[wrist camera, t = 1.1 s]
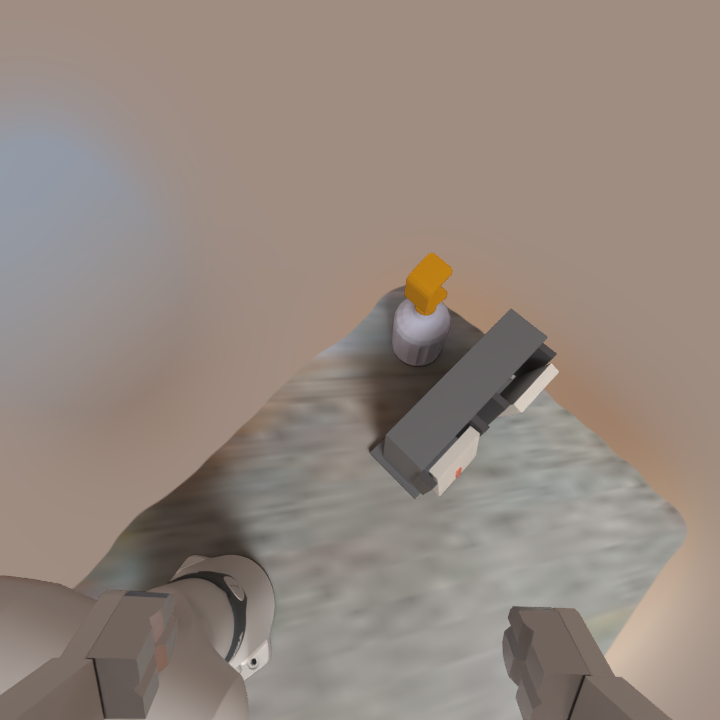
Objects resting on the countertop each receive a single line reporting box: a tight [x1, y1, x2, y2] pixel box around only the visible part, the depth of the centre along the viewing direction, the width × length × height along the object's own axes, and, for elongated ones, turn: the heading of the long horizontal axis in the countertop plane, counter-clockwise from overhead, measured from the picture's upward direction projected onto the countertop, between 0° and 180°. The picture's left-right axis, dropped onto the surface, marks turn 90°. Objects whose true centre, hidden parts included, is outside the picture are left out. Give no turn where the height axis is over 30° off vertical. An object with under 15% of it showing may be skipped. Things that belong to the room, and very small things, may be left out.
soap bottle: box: [392, 253, 452, 366], centre depth 66 cm, size 9×9×25 cm
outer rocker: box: [496, 364, 559, 418], centre depth 61 cm, size 8×2×10 cm, turn 135°
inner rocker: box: [429, 426, 480, 496], centre depth 58 cm, size 8×2×10 cm, turn 135°
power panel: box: [370, 309, 556, 499], centre depth 62 cm, size 26×10×20 cm, turn 135°
